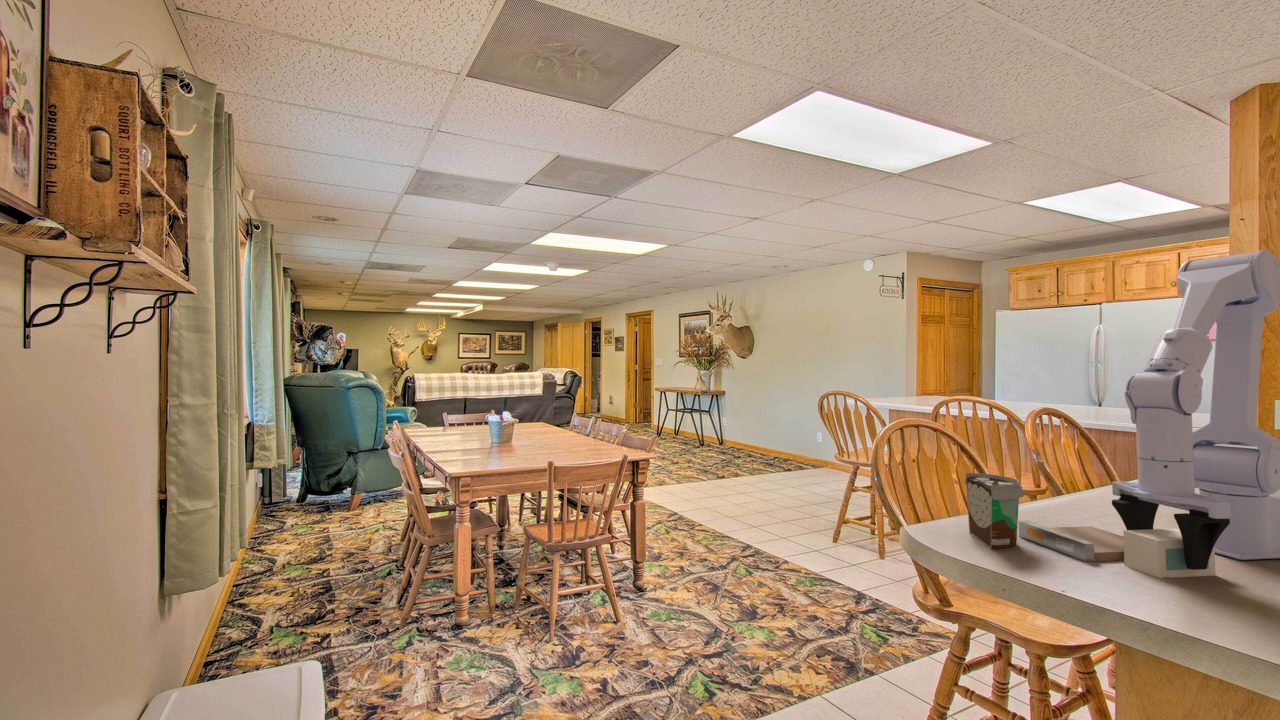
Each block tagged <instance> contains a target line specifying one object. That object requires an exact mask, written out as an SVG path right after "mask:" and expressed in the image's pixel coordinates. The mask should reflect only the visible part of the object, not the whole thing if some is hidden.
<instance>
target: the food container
mask: <svg viewBox="0 0 1280 720" xmlns="http://www.w3.org/2000/svg"><path fill="white" fill-rule="evenodd" d="M964 485H965V486H966V487H965V488H966V500H967V517H968V533H969V534H970V535H971V536H972V537H974V538H975V539H976V540H978V541H979V543H980V542H981V543H982V544H983V545H984V546H985V547H987V548H988V549H990V550H991V551H1004V550H1011V549H1014V548H1015V547H1017V544H1018V541H1017V540H1018V525H1019V521H1018V520H1019V504H1020V503H1019V501H1020V500H1019V499H1021V498H1023V497H1024V496H1025V494H1024V490H1023V487H1022V484H1020V481H1019V480H1018V479H1016V478H1014V477H1009V476H1004V475H999V474H991V473H982V472H981V473H980V472H965V477H964Z"/></svg>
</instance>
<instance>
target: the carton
mask: <svg viewBox="0 0 1280 720" xmlns="http://www.w3.org/2000/svg"><path fill="white" fill-rule="evenodd" d="M1122 531H1123V534H1122V535H1123V537H1124V560H1123V561H1124V566H1125V567H1128V568H1131V569H1134V570H1136V571H1139V572H1141V573H1144V572H1145V574H1147V573H1148V575H1150V576H1152V575H1153V577H1155V576H1156V577H1155V578H1158V577H1159V578H1158V579H1163V578H1164V577H1170V578H1187V577H1210V576H1217V575H1216V553H1215V546H1214V547H1213V550H1212V552H1211V555H1210V558H1209V561H1208V565H1207V568H1206V569H1200V570H1192V569H1189V568H1187V566H1186V563H1185V557H1184V545H1183V539H1182V535H1181V532H1180V529H1179V528H1153V529H1148V530H1127V529H1126V530H1125V529H1124V530H1122Z"/></svg>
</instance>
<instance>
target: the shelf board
mask: <svg viewBox="0 0 1280 720" xmlns="http://www.w3.org/2000/svg"><path fill="white" fill-rule="evenodd" d="M1049 528H1050V529H1053V530H1056V531H1059V532H1062V533H1065V534H1068V535H1070V536H1073V537H1076V538H1079V539H1082V540H1085V541H1088V542H1091V543H1094V553H1095V561H1094V562H1108V561H1124V535H1120V534H1117V533H1113V532H1111V531H1110V532H1109V531H1107V530H1103V529H1100V528H1097V527H1093V526H1091V525H1086V526H1065V527H1064V526H1063V527H1062V526H1060V527H1059V526H1058V527H1049Z"/></svg>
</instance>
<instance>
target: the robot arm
mask: <svg viewBox="0 0 1280 720" xmlns="http://www.w3.org/2000/svg"><path fill="white" fill-rule="evenodd" d="M1176 286H1177V289H1178V291H1179V294H1180V296H1181V298H1182V301H1181V304H1180V308H1179V311H1178V313H1177V316H1176V320H1175V322H1174V327H1173V329H1168V330H1166V331H1164V332H1162V333H1161V334H1160V335H1159V337H1158V339H1157V341H1156V344H1155V346H1154V347H1153V349H1152V352H1151V353H1150V356H1149V358H1148V360H1147V362H1146V363H1145V366H1144V368H1143V370H1142V371H1139V372H1136V373H1135V374H1134V375H1131V376H1130V377H1129V379H1128V380H1127V382H1126V385H1125V386H1126V387H1125V391H1124V399H1125V402H1126V405H1127V406H1128V409H1129V411H1130V420H1131V423H1132V424H1134V425H1135V430H1136V431H1135V435H1136V457H1137V458H1136V460H1137V462H1136V463H1137V483H1135V482H1128V481H1112V482H1111V483H1112V484H1111V487H1112V488H1111V489H1112V495H1113V496H1116V497H1118V499H1112V500H1111V505H1112V507H1113V508H1114V509H1115V511H1116V512H1117V514H1118V515H1119V516H1120V518H1121V521H1122V523H1123V524H1124V527H1125V528H1126V530H1148V529H1154V525H1155V524H1154V523H1155V519H1156V515H1157V512H1158V509H1159V507H1160V505H1162V506H1164V507H1169V508H1173V509H1177V510H1178V509H1179V510H1183V511H1186V512H1187V513H1185V512H1183V513H1173V518H1174V521H1176V524H1177V526H1178V529H1180V532H1181V535H1182V539H1183V545H1184V557H1185V563H1186V566H1187V568H1189V569H1192V570H1200V569H1206V568H1207V565H1208V561H1209V558H1210V555H1211V552H1212V550H1213V547H1214V546H1215V554H1219V555H1222V556H1226V557H1229V558H1233V559H1235V560H1242V561H1245V560H1265V559H1266V560H1267V559H1268V560H1269V559H1280V496H1278V495H1277V494H1276V493H1277V492H1279V491H1280V440H1278V439H1277V438H1276V437H1275V436H1273V435H1272V434H1270V433H1267V432H1266V431H1264V430H1262V429H1261V428H1260V427H1258V426H1257V419H1258V417H1257V416H1258V401H1259V388H1260V387H1259V385H1260V370H1261V355H1262V354H1261V353H1262V352H1261V351H1262V340H1263V339H1262V337H1263V326H1264V321H1265V316H1266V315H1268V314H1270V313H1272V312H1274V311H1276V310H1278V308H1279V301H1280V265H1279V262H1278V259H1277V257H1276V256H1275V255H1274V254H1273V253H1272V252H1270V251H1269V250H1267V249H1261V250H1257V251H1255V252H1249V253H1248V252H1247V253H1240V254H1234V255H1227V256H1220V257H1212V258H1207V259H1200V260H1199V259H1198V260H1187V261H1184V262H1183V264H1181V266H1180V267H1179V269H1178V271H1177V275H1176ZM1215 323H1216V328H1215V330H1216V331H1215V343H1214V344H1215V345H1214V356H1213V357H1214V359H1213V373H1212V386H1211V400H1210V402H1211V403H1210V414H1209V415H1210V416H1209V422H1208V423H1207V424H1205V425H1203V426H1202V427H1200V428H1198V429H1196V430H1194V431H1193V414H1194V413H1196V412H1197V411H1198V409H1199V407H1200V405H1201V403H1202V399H1203V398H1202V396H1203V395H1202V394H1203V393H1202V392H1203V390H1202V387H1203V384H1204V383H1203V382H1204V379H1203V377H1202V376H1201V375H1202V373H1203V370H1204V368H1205V366H1206V363H1207V361H1208V359H1209V357H1210V354H1211V352H1212V349H1213V343H1212V340H1211V339H1210V338H1209V337H1208V334H1209V333H1210V331H1211V330H1212V328H1213V327H1214V324H1215ZM1224 445H1225V446H1224ZM1226 445H1228V446H1226ZM1237 446H1239V447H1237ZM1241 446H1242V447H1241ZM1250 447H1253V448H1250ZM1195 489H1198V490H1199V491H1198V493H1196V491H1195ZM1188 512H1189V513H1188Z"/></svg>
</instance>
